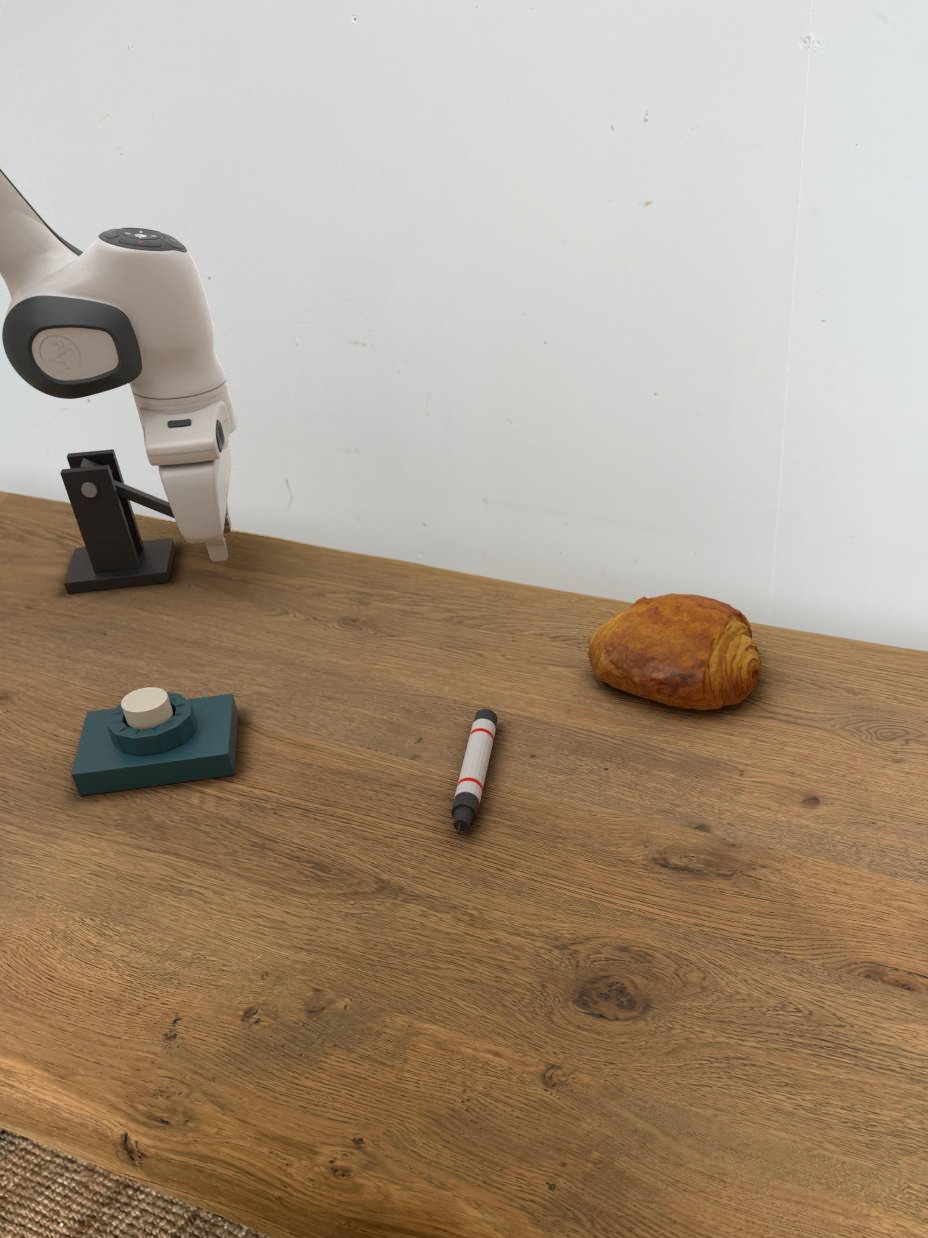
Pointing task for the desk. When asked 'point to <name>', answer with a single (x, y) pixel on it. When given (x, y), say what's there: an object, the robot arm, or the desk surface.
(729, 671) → the croissant
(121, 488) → the lever switch
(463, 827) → the marker
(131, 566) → the pivot lever stand
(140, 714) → the power button
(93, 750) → the block
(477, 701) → the desk surface
